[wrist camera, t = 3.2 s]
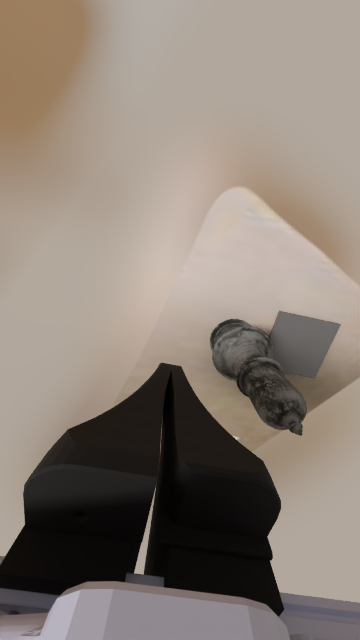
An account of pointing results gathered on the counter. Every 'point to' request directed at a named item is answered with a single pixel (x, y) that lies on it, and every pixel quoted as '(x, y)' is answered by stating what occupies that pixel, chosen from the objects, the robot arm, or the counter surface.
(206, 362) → the counter surface
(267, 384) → the dark grey chess piece
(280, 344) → the charcoal mat
